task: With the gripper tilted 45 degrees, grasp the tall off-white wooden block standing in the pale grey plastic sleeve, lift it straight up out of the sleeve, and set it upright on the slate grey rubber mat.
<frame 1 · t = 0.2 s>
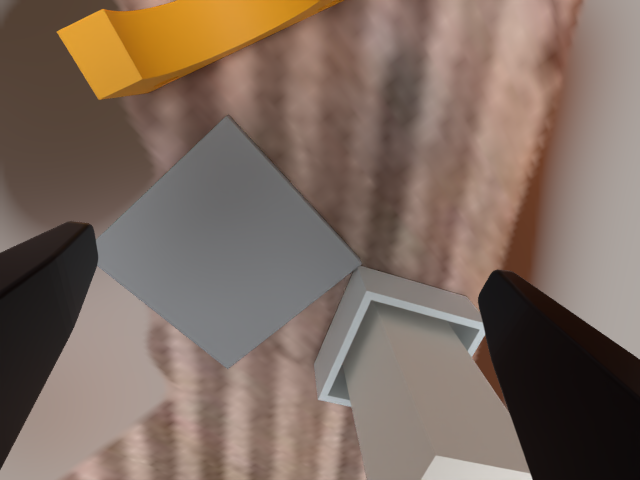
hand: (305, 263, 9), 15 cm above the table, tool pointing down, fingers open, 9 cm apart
tall block: (388, 330, 29), resting in sleeve
sleeve: (388, 330, 29), on the table
pipe clamp: (230, 2, 21), on the table
mat: (228, 253, 25), on the table
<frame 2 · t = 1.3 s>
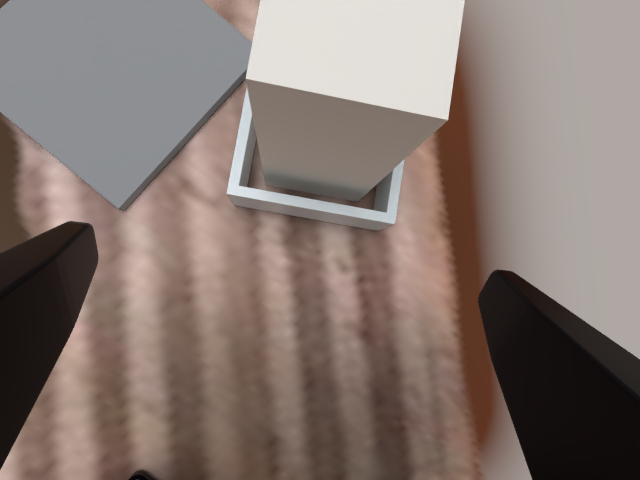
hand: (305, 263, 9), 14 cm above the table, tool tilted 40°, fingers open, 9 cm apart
tall block: (319, 148, 24), resting in sleeve
sleeve: (319, 148, 24), on the table
mat: (114, 65, 23), on the table
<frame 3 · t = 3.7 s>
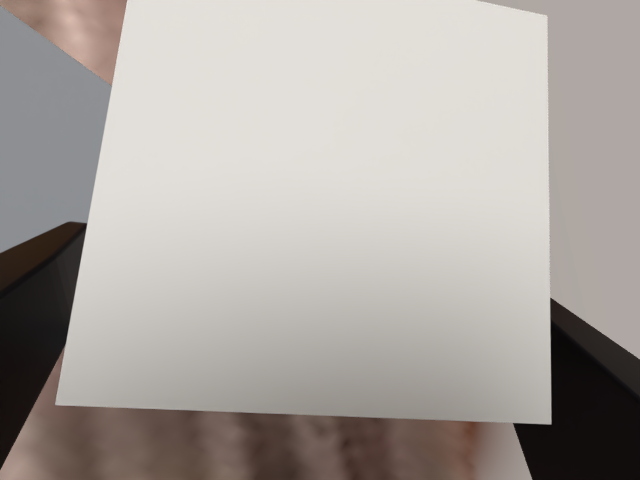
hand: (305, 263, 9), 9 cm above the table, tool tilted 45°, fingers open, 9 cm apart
tall block: (275, 265, 17), resting in sleeve
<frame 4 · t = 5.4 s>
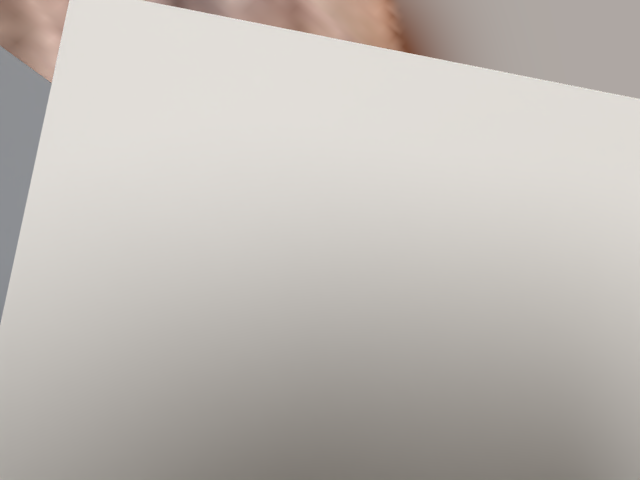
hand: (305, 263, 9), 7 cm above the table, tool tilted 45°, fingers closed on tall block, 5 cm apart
tall block: (277, 313, 16), resting in sleeve, touching gripper
when the fingers open (9 cm above the table, at t = 9.2 s): tall block drops 1 cm, resting on mat.
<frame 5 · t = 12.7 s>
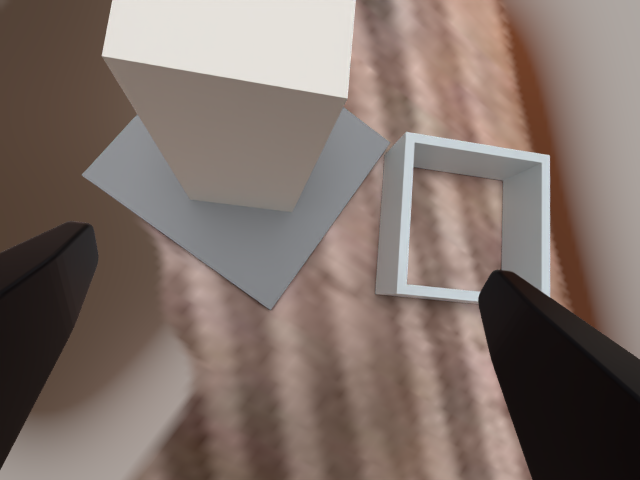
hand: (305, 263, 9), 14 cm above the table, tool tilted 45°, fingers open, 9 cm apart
tall block: (247, 158, 22), point 1 cm above the table, touching mat
sleeve: (446, 230, 25), on the table
mat: (247, 162, 23), on the table
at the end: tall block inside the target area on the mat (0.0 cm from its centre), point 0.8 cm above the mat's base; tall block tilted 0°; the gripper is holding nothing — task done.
